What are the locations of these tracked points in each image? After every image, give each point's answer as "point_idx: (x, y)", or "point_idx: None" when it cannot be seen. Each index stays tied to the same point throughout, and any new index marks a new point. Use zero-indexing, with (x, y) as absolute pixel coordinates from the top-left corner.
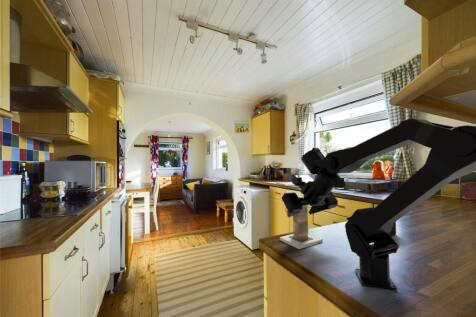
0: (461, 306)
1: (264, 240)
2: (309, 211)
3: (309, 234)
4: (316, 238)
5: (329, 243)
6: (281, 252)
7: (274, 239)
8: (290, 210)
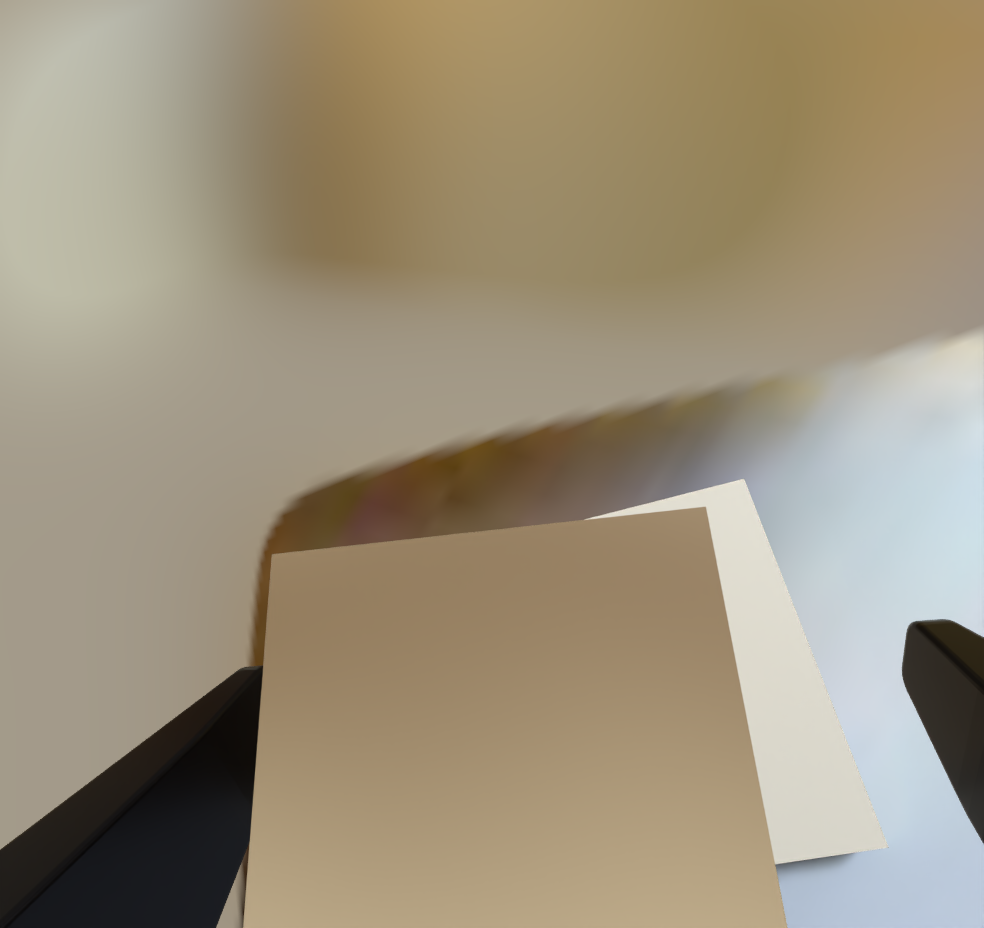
0: None
1: (271, 531)
2: (939, 664)
3: (788, 607)
4: (804, 786)
5: (952, 923)
6: (244, 877)
7: (364, 537)
8: None
